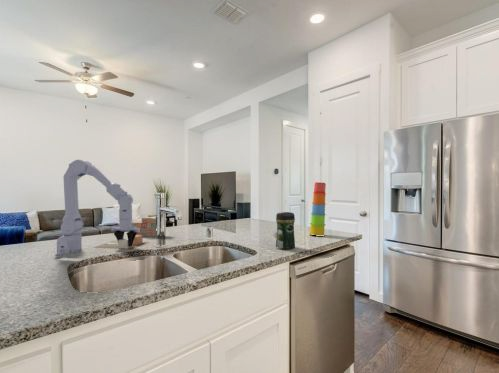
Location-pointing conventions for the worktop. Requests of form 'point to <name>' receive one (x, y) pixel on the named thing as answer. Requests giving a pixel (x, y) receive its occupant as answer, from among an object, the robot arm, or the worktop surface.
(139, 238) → the terracotta brick
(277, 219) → the coffee jar
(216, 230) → the worktop surface
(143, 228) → the stack of blocks
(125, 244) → the cream brick
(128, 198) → the robot arm
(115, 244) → the build board
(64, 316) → the worktop surface
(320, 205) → the stacking cups
